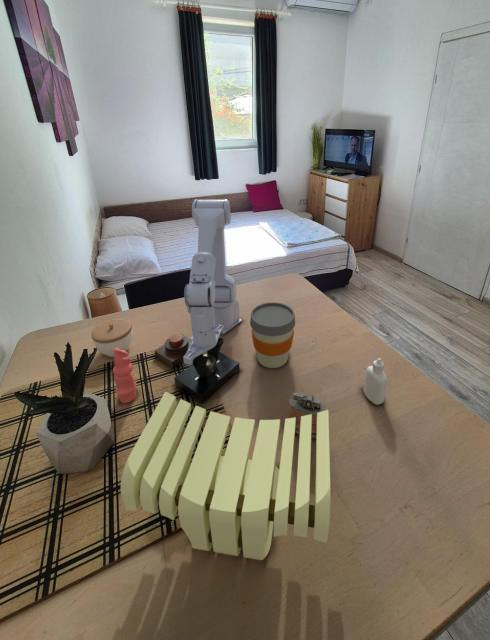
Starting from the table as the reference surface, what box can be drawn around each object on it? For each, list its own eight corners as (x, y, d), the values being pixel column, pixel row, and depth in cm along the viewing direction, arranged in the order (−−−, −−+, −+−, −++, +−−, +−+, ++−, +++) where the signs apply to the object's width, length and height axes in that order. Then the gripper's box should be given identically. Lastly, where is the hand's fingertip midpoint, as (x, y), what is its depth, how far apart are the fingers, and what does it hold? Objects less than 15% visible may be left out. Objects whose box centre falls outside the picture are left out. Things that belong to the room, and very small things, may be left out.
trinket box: (117, 366, 92) (111, 338, 88) (88, 357, 95) (80, 331, 91) (143, 342, 101) (138, 317, 97) (115, 335, 104) (109, 311, 100)
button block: (182, 339, 103) (180, 328, 101) (199, 349, 98) (198, 338, 97) (155, 356, 95) (153, 345, 93) (173, 368, 91) (171, 356, 89)
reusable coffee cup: (243, 365, 92) (241, 321, 86) (261, 339, 102) (261, 298, 96) (285, 377, 87) (286, 332, 81) (299, 349, 98) (301, 307, 92)
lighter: (325, 428, 73) (328, 395, 69) (322, 441, 70) (325, 407, 66) (290, 418, 76) (291, 386, 72) (286, 430, 73) (287, 397, 69)
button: (177, 337, 98) (176, 332, 97) (185, 342, 96) (184, 337, 95) (167, 343, 95) (166, 339, 94) (175, 348, 93) (174, 343, 92)
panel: (214, 356, 95) (213, 348, 94) (239, 371, 90) (239, 362, 88) (175, 386, 85) (174, 377, 83) (202, 405, 79) (201, 395, 78)
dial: (219, 367, 87) (218, 355, 85) (210, 378, 83) (208, 366, 82) (205, 362, 89) (204, 351, 87) (195, 373, 85) (194, 361, 83)
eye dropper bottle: (379, 388, 84) (386, 351, 79) (384, 406, 79) (391, 367, 74) (362, 387, 84) (368, 350, 80) (365, 404, 79) (372, 366, 75)
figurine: (143, 389, 84) (133, 342, 78) (133, 405, 79) (122, 356, 73) (124, 387, 84) (113, 340, 78) (113, 403, 80) (100, 355, 74)
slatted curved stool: (137, 548, 53) (116, 478, 46) (176, 455, 67) (165, 391, 60) (322, 581, 49) (331, 510, 42) (322, 475, 64) (328, 409, 57)
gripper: (207, 307, 88) (211, 347, 93) (170, 338, 76) (177, 382, 81) (229, 313, 85) (232, 355, 91) (195, 346, 73) (200, 391, 79)
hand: (207, 368), depth 86 cm, fingers closed on dial, 4 cm apart
